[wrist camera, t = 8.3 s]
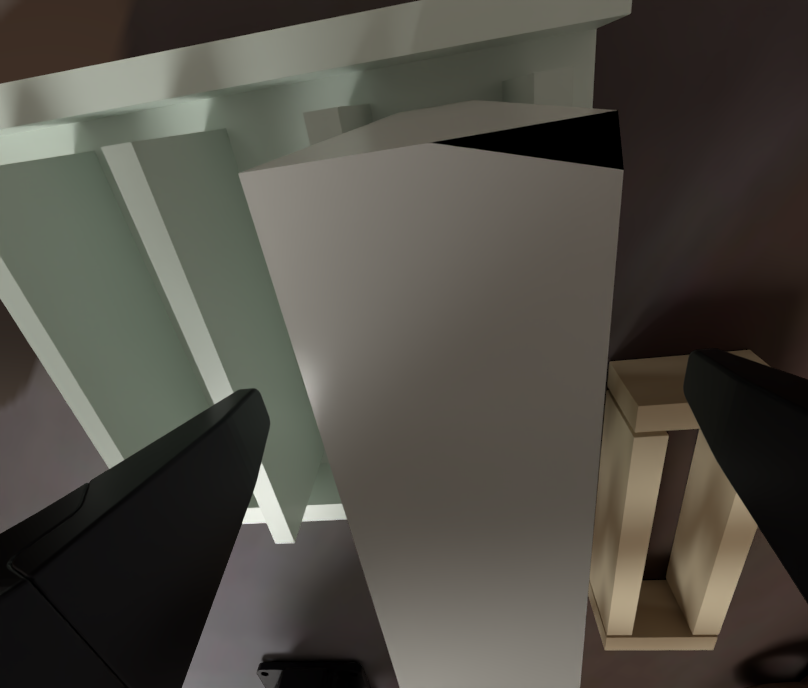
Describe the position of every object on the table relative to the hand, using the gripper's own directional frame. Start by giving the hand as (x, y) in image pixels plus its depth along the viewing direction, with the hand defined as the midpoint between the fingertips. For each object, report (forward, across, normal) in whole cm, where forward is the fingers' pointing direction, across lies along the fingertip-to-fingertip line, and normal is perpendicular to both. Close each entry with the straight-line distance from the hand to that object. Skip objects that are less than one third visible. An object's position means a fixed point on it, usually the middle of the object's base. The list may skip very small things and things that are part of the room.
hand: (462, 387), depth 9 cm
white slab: (+4, 0, 0) cm, 5 cm away
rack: (+6, +5, 0) cm, 7 cm away
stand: (+6, -7, +10) cm, 13 cm away
